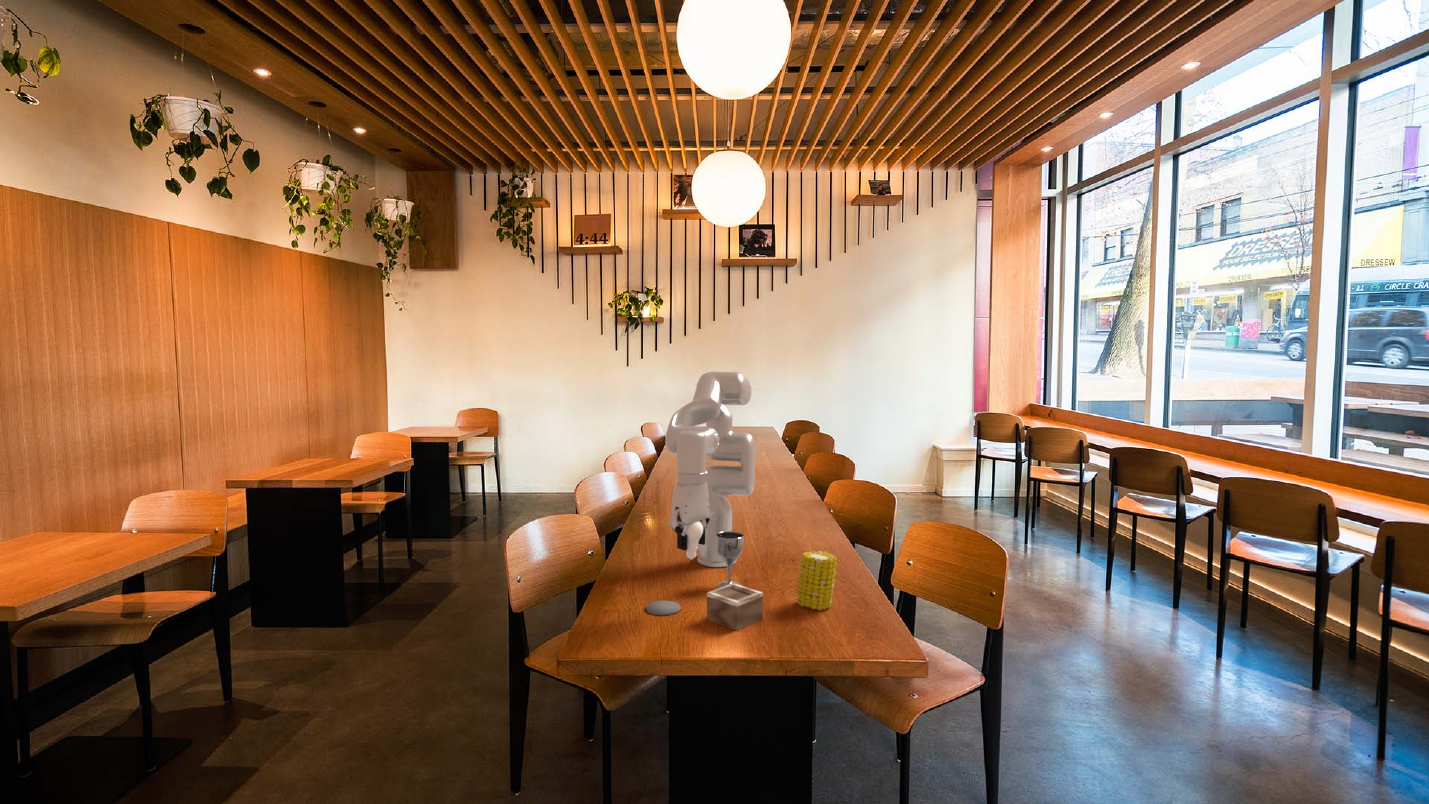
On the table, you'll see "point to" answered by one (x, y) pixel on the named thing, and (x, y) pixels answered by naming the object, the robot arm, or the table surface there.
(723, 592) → the square holder
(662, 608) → the grey flat disc
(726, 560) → the wine glass
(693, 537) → the lightbulb
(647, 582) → the table surface
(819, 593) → the food
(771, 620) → the table surface
